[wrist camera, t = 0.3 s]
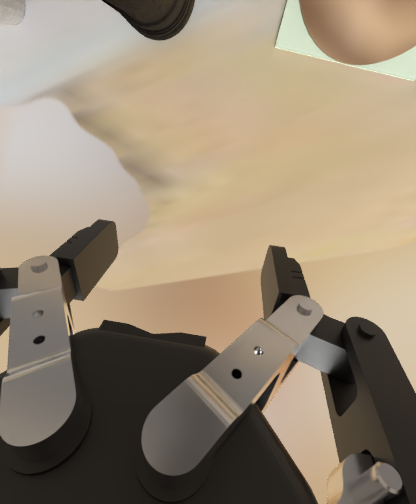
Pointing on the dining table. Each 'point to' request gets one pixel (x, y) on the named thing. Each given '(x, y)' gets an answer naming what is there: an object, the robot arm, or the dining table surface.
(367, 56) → the lid
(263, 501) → the robot arm
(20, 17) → the house plant
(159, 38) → the container
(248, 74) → the dining table surface
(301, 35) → the mat
